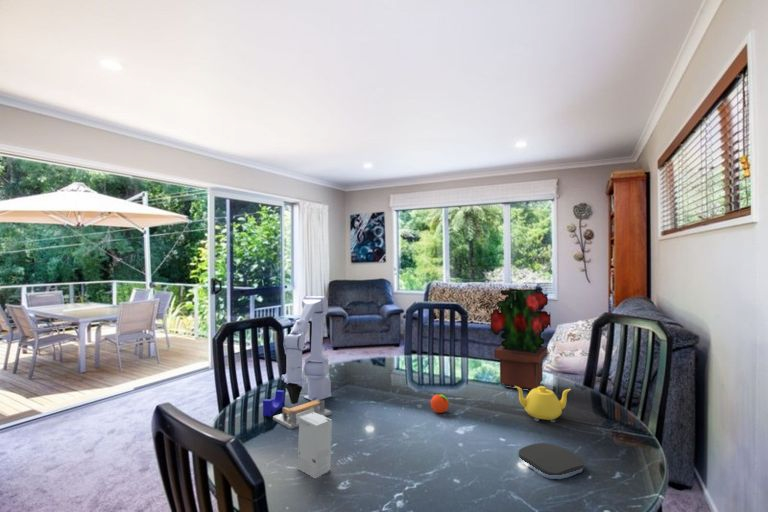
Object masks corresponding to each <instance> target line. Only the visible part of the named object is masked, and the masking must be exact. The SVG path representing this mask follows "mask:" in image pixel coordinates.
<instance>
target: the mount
mask: <svg viewBox="0 0 768 512" xmlns="http://www.w3.org/2000/svg"><path fill="white" fill-rule="evenodd" d="M315 399H317V397H315V398H313V401H314V400H315ZM325 403H326V402H325V399H322V400H320V405H317V406H315V407H312V408H309V409H306V410H303V411H300V412H297V413H295V411H291V412H290V415H289V414H287V413H285V412H284V409H285V408H287V407H286V406H283V407H281V408H282V410H281V411H282V413H280V414H276V415H272V420H273V421H275V422H276V423H278V424H281V425H282V426H284V427H286V428H288V429H289V430H292V429H295V428H297V427H298V428H299V417H301V416H304V415H307V414H310V413H313V412H315V413H317V414H320V415H323V416H325V417H327V416H330V415H332V411H331V410H329V409H327V408H325V407H326V406H325V405H326V404H325Z"/></svg>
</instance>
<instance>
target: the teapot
mask: <svg viewBox="0 0 768 512" xmlns="http://www.w3.org/2000/svg"><path fill="white" fill-rule="evenodd" d="M515 387H516V388H517V389H516V390H517V391H518V399H519V400H518V401H519V403H520V404H521V405H522V407H524V410H525V412H526V413H527V414H528V415H529V416H530V417H532V418H534V417H535V418H539V419H540V420H547V421H549V420H552V419H555V420H556V419H557V418H559V417H560V416H561V415H562V413H563V412H562V411H563V409H565V408H566V405H567V401H568V400H567V399H568V398H567V395H568V393H569V392H570V391H571V390H572V389H571V388H567V389H564V390H563V392H562V395H561V399H560V400H559V398H558V397H557V395H556V394H555V392H554V391H553V390H551V389H547V387H546V386H543V385H539V386H538V387H537V388H534V389H532V390H531V391H528V394H527V395H526V397H524V392H523V391H524V390H522V389H521V388H520V387H517V386H515Z"/></svg>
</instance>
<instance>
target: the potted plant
mask: <svg viewBox="0 0 768 512" xmlns="http://www.w3.org/2000/svg"><path fill="white" fill-rule="evenodd" d="M543 290H544V289H543V288H540V289H539V288H537V289H536V288H535V289H532V288H531V289H518V288H508V289H501V290H500V294H501V295H502V296H506V297H505V298H504V300H498V301H497V303H496V306H497V307H498V308H500V310H499V309H497V308H495V309H494V310H493V311H492V313H489V315H490V318H489V319H490V332H493V334H494V335H495V336H498V335H500V336H501V339H502V341H501V342H500V344H501V345H499V346H498V347H497V348H495V349H494V356H493V357H494V359H495V360H496V359H498V360H499V384H502V385H505V387H506V386H511V387H515V386H517V387H520V388H522V389H528V390H532V389H534V388H537V387H539V386H540V384H541V383H542V381H543V379H544V378H543V374H544V373H543V372H544V371H543V361H544V359H546V357H547V356H548V346H545V345H543V344H545V339H544V338H542V335H543V333H544V332H545V330H546V329H548V327H549V328H552V327H551V325H552V324H551V312H549V313H548V312H547V311H546V310H544V308H545V306H547V305H548V303H549V300H548V299H549V298H548V296H547V295H545V294H544V292H542V291H543ZM539 310H540V311H539ZM500 332H502V333H501V334H500ZM494 335H493V336H494ZM503 339H504V340H503Z"/></svg>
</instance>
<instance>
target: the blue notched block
mask: <svg viewBox="0 0 768 512" xmlns="http://www.w3.org/2000/svg"><path fill="white" fill-rule="evenodd" d="M283 407H285V390H281V389H277V390H276V391H275V397H273V398H271V399H269V398H268V399H267V398H264V399H263V400H262V416H263V417H271V416H274V414H275V413H276V412H278V410H280V409H281V408H283Z"/></svg>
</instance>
